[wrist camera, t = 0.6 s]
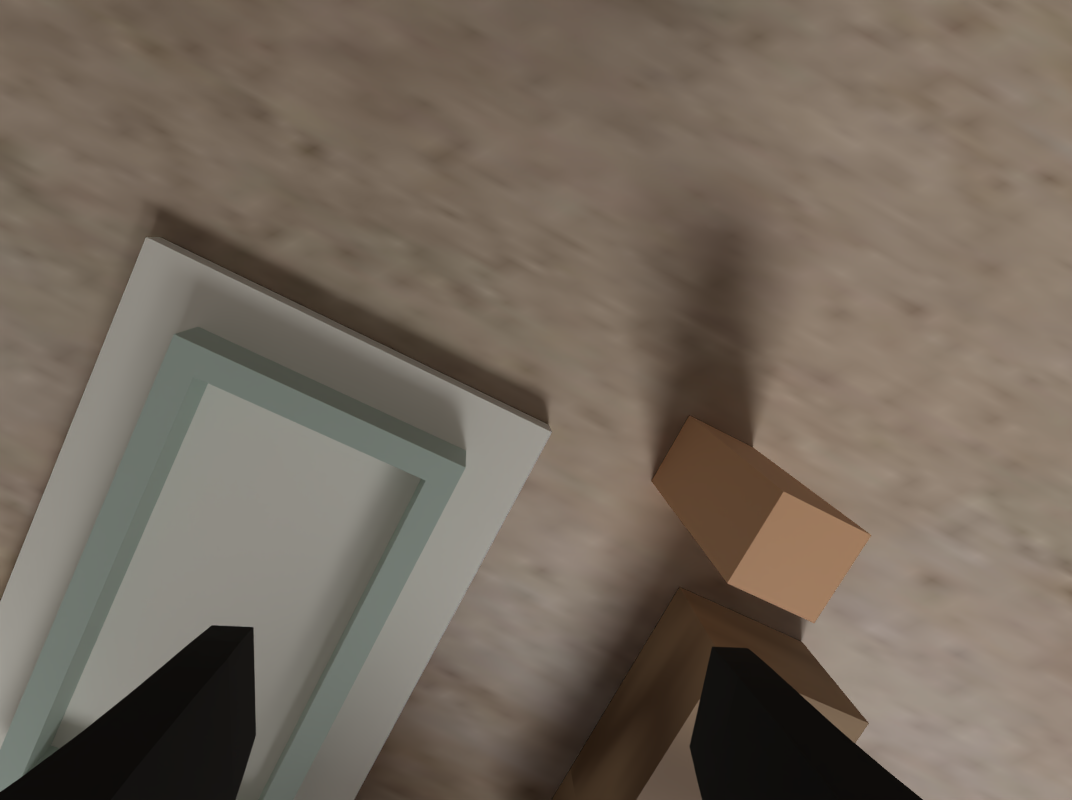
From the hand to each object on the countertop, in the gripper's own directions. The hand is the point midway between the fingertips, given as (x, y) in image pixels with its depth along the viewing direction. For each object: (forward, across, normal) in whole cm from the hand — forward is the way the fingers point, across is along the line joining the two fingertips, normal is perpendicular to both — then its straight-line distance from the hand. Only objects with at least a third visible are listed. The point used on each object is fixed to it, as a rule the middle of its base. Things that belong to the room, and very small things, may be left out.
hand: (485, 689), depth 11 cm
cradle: (+10, +7, +5) cm, 13 cm away
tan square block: (+10, -7, 0) cm, 12 cm away
